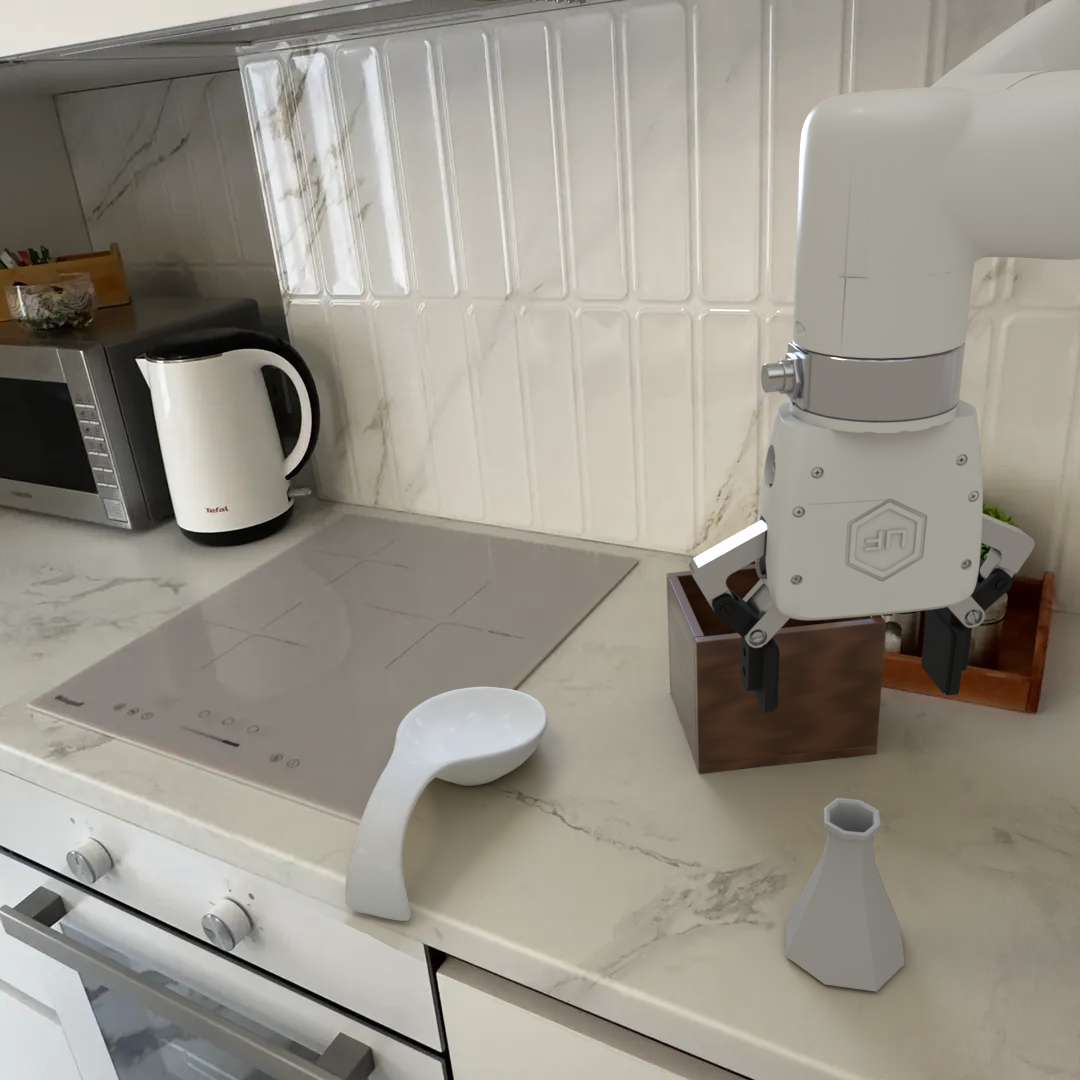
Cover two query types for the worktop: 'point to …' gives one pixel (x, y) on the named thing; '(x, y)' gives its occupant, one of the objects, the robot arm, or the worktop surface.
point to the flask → (846, 907)
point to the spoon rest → (418, 757)
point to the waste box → (803, 691)
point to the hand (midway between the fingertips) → (851, 689)
